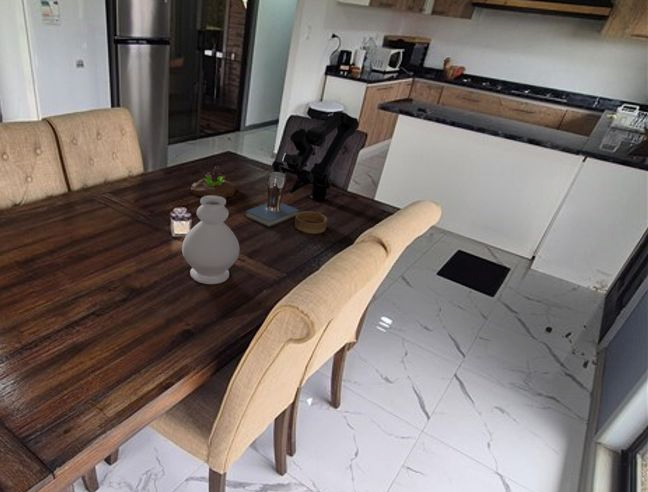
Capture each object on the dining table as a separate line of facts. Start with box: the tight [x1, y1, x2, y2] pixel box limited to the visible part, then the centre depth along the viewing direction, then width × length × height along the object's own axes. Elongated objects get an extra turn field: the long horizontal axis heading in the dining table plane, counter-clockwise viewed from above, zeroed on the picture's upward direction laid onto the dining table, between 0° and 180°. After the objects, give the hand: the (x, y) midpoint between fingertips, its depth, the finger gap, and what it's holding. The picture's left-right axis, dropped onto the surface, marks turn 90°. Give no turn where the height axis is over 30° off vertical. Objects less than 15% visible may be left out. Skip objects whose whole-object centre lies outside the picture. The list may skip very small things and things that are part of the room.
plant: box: [190, 164, 238, 200], centre depth 206 cm, size 20×20×11 cm
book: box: [244, 202, 300, 228], centre depth 189 cm, size 19×13×2 cm
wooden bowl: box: [293, 210, 329, 235], centre depth 182 cm, size 12×12×4 cm
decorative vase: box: [181, 195, 240, 285], centre depth 140 cm, size 18×18×25 cm
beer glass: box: [266, 171, 287, 213], centre depth 184 cm, size 7×7×15 cm
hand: (281, 189), depth 186 cm, fingers open, 9 cm apart
